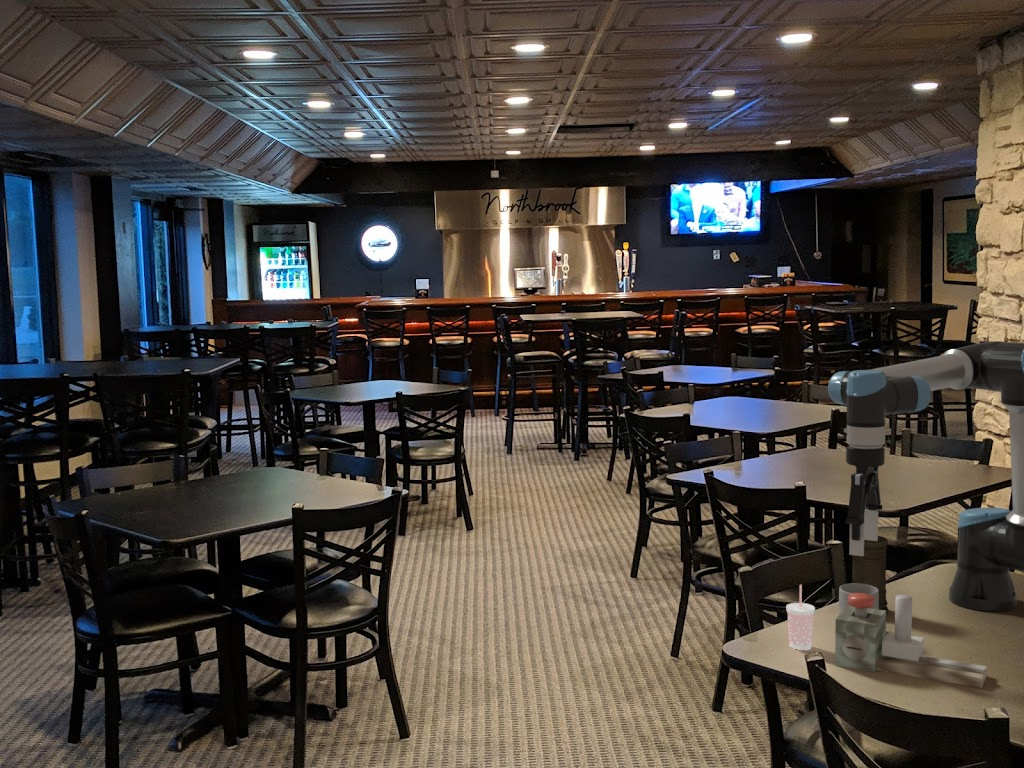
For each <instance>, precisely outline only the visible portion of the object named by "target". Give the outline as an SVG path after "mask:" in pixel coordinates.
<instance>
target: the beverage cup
mask: <svg viewBox="0 0 1024 768" xmlns="http://www.w3.org/2000/svg"><path fill="white" fill-rule="evenodd" d="M802 586H803V584H799V594H798V595H799V599H798V600H799V602H791V603H787V604H786V606H785V608H786V609H785V610H786V612H787V625H788V626H787V627H788V641H789V643H788V644H789V648H790V647H792V648H794V649H798V650H797V651H799V650H805V651H809V650H811V649H812V641H813V626H814V615H815V612H816V607H815V606H814V605H812V604H810V603H805V602H802V600H803V599H802V597H803V596H802V593H803V587H802ZM792 648H791V649H792ZM794 649H793V650H794Z"/></svg>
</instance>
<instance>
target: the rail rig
mask: <svg viewBox="0 0 1024 768" xmlns="http://www.w3.org/2000/svg"><path fill="white" fill-rule="evenodd" d="M886 616H887V614H886V611H885V610H878V609H871V608H867V619H866V618H860V617H855V607H853V606H850V605H847V606H846V607H845V609H844V610H843V611H842V612H841V613H840V614H839V613H838V616H837V617H835V629H834V630H835V638H834V642H835V643H834V653H835V654H834V657H835V659H834V665H835V666H837V667H843V668H849V669H855V670H860V671H865V672H872V673H876V671H881V672H882V671H883V672H886V673H892V674H893V673H894V674H897V675H903V674H904V676H909V677H916V678H921V679H928V680H933V681H938V682H944V683H948V684H949V683H951V684H957V685H960V686H961V685H962V686H967V687H974V688H977V689H978V688H979V689H983V687H984V685H985V681H986V679H987V677H988V666H987V665H981V664H975V663H969V662H962V661H957V660H951V659H944V658H938V657H933V656H926V655H921V657H920V659H919V660H918V661H913V660H907V659H901V658H895V657H889V656H883V655H882V641H883V639H884V638H885V636H886V635H887V633H886V631H887V628H886V626H887V624H886V623H887V617H886Z"/></svg>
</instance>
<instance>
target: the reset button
mask: <svg viewBox="0 0 1024 768" xmlns="http://www.w3.org/2000/svg"><path fill="white" fill-rule="evenodd" d="M848 604H849V605H850V606H853V607H855V617H860V618H866V619H867V608H871V607H873V606H874V596H872V595H870V594H866V593H852V594H849V595H848Z"/></svg>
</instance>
